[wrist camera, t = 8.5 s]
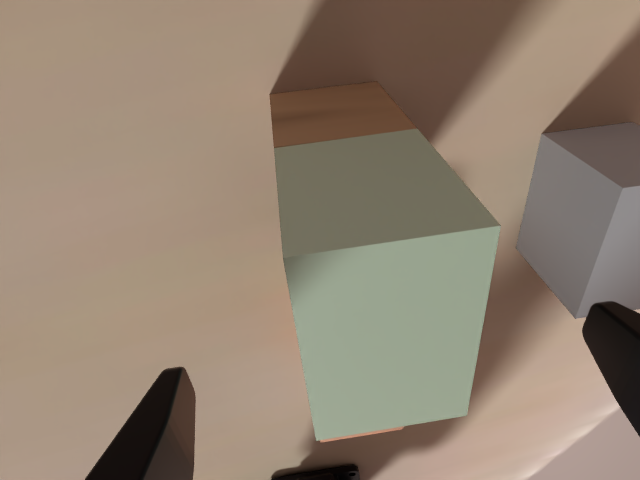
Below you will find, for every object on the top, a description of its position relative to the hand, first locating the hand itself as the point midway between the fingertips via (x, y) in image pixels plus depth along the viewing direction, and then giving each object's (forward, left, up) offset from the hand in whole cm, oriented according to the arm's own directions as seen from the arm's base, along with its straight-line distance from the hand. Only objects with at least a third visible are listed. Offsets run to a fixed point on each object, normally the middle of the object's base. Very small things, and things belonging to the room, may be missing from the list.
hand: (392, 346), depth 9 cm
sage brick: (0, 0, -5) cm, 5 cm away
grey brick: (-3, -11, -10) cm, 15 cm away
